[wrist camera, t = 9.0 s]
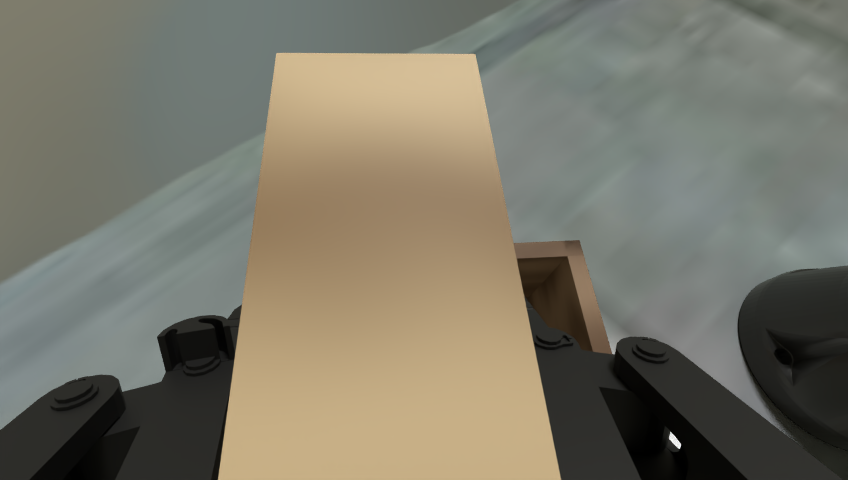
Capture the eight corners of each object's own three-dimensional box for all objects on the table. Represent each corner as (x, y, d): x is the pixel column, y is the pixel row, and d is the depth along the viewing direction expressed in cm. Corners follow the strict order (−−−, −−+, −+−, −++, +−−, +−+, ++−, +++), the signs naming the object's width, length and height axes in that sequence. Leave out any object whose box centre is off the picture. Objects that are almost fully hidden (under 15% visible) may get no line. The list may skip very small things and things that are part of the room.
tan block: (452, 527, 14) (622, 786, 4) (333, 539, 14) (125, 876, 3) (429, 273, 19) (475, 54, 8) (338, 277, 18) (261, 53, 8)
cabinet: (553, 484, 29) (658, 514, 17) (338, 506, 28) (297, 555, 16) (519, 305, 35) (579, 240, 24) (341, 315, 34) (313, 252, 22)
